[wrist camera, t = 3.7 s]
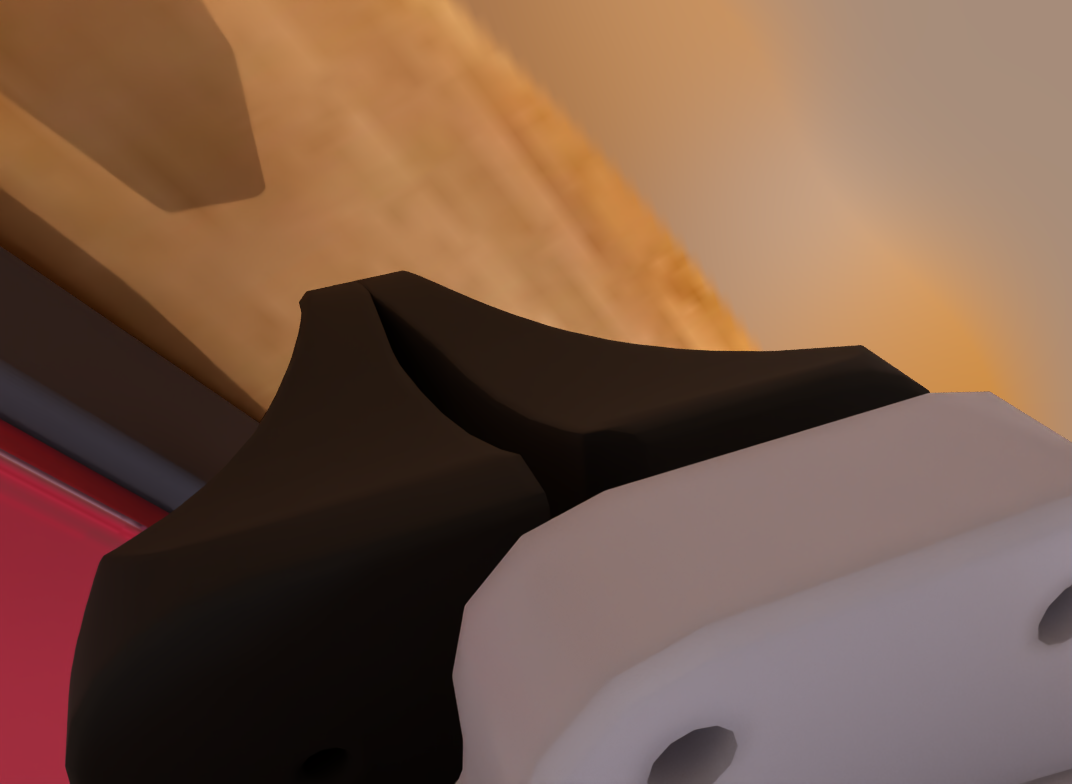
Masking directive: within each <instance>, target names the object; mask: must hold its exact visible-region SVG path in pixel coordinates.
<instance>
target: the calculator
mask: <svg viewBox="0 0 1072 784" xmlns="http://www.w3.org/2000/svg"><path fill="white" fill-rule="evenodd" d="M258 425H259V423H258V422H257V421H255V420H254V419H252V418H251V417H250V416H248V415H247V414H245V413H244V412H242V411H241V410H239V409H238V408H236V407H235V406H233V405H232V404H231V403H229V402H228V401H226V400H225V399H223V398H222V397H220V396H219V395H217V394H216V393H214V392H213V391H211V390H210V389H209V388H207V387H206V386H204V385H203V384H201V383H200V382H198V381H197V380H195V379H194V378H192V377H191V376H190V375H188V374H187V373H185V372H184V371H182V370H181V369H179V368H178V367H176V366H175V365H173V364H172V363H171V362H169V361H168V360H166V359H165V358H163V357H162V356H160V355H159V354H157V353H156V352H154V351H153V350H152V349H150V348H149V347H147V346H146V345H144V344H143V343H141V342H140V341H138V340H137V339H135V338H134V337H133V336H131V335H130V334H128V333H127V332H125V331H124V330H122V329H121V328H119V327H118V326H116V325H115V324H113V323H112V322H111V321H109V320H108V319H106V318H105V317H103V316H102V315H100V314H99V313H97V312H96V311H94V310H93V309H92V308H90V307H89V306H87V305H86V304H84V303H83V302H81V301H80V300H78V299H77V298H75V297H74V296H73V295H71V294H70V293H68V292H67V291H65V290H64V289H62V288H61V287H59V286H58V285H56V284H55V283H54V282H52V281H51V280H49V279H48V278H46V277H45V276H43V275H42V274H40V273H39V272H37V271H36V270H35V269H33V268H32V267H30V266H29V265H27V264H26V263H24V262H23V261H21V260H20V259H18V258H17V257H15V256H14V255H13V254H11V253H10V252H8V251H7V250H5V249H4V248H2V247H1V246H0V784H70V782H69V779H68V775H67V772H66V768H65V755H66V736H67V716H68V697H69V686H70V676H71V669H72V664H73V658H74V653H75V647H76V643H77V639H78V635H79V632H80V628H81V624H82V620H83V615H84V611H85V608H86V604H87V601H88V597H89V594H90V591H91V587H92V584H93V580H94V577H95V574H96V571H97V568H98V565H99V562H100V560H101V559H102V557H103V556H104V555H105V554H107V553H109V552H111V551H112V550H114V549H116V548H118V547H119V546H121V545H122V544H124V543H125V542H127V541H128V540H130V539H132V538H133V537H135V536H136V535H138V534H139V533H141V532H142V531H144V530H145V529H147V528H148V527H150V526H152V525H153V524H155V523H156V522H158V521H159V520H161V519H162V518H164V517H165V516H167V515H168V514H170V513H171V512H172V511H174V510H175V509H176V508H178V507H179V506H180V505H182V504H183V503H184V502H185V501H186V500H188V499H189V498H190V497H191V496H193V495H194V494H195V493H196V492H197V491H199V490H200V489H201V488H202V487H203V486H205V485H206V484H207V483H208V482H209V481H210V480H211V479H212V478H213V477H214V476H215V475H216V474H218V473H219V472H220V471H221V470H222V469H223V468H224V467H225V466H226V465H227V464H228V462H229V461H230V460H231V459H232V458H233V457H234V456H235V454H236V453H237V452H238V451H239V450H240V449H241V447H242V446H243V445H244V444H245V443H246V442H247V441H248V439H249V438H250V437H251V436H252V434H253V433H254V431H255V430H256V428H257V427H258Z"/></svg>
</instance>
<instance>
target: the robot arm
mask: <svg viewBox="0 0 1072 784" xmlns="http://www.w3.org/2000/svg"><path fill="white" fill-rule="evenodd" d="M299 304H300V308H301V322H300V328H299V333H298V337H297V340H296V344H295V347H294V351H293V354H292V358H291V361H290V363H289V366H288V368H287V371H286V373H285V375H284V378H283V380H282V382H281V384H280V387H279V389H278V391H277V394H276V396H275V398H274V400H273V401H272V403H271V405H270V407H269V409H268V411H267V412H266V414H265V416H264V417H263V419H262V420H261V422H260V423H259V425H258V427H257V428H256V430H255V431H254V433H253V434H252V436H251V437H250V438H249V439H248V441H247V442H246V443H245V444H244V445H243V446H242V447H241V449H240V450H239V451H238V452H237V453H236V454H235V456H234V457H233V458H232V459H231V460H230V461H229V462H228V464H227V465H226V466H225V467H224V468H223V469H222V470H221V471H220V472H219V473H218V474H216V475H215V476H214V477H213V478H212V479H211V480H210V481H209V482H208V483H207V484H206V485H205V486H203V487H202V488H201V489H200V490H199V491H197V492H196V493H195V494H194V495H193V496H191V497H190V498H189V499H188V500H186V501H185V502H184V503H183V504H182V505H180V506H179V507H178V508H176V509H175V510H174V511H172V512H171V513H170V514H168V515H167V516H165V517H164V518H162V519H161V520H159V521H158V522H156V523H155V524H153V525H152V526H150V527H148V528H147V529H145V530H144V531H142V532H141V533H139V534H138V535H136V536H135V537H133V538H132V539H130V540H128V541H127V542H125V543H124V544H122V545H121V546H119V547H118V548H116V549H114V550H112V551H111V552H109V553H107V554H105V555H104V556H103V557H102V559H101V560H100V562H99V565H98V568H97V571H96V574H95V577H94V580H93V584H92V587H91V591H90V594H89V597H88V601H87V604H86V608H85V611H84V615H83V620H82V624H81V628H80V632H79V635H78V639H77V643H76V647H75V653H74V658H73V664H72V669H71V676H70V686H69V697H68V716H67V736H66V755H65V768H66V772H67V775H68V779H69V782H70V784H1072V442H1070V441H1069V440H1067V439H1065V438H1064V437H1062V436H1060V435H1059V434H1057V433H1056V432H1054V431H1052V430H1051V429H1049V428H1048V427H1046V426H1044V425H1043V424H1041V423H1040V422H1038V421H1036V420H1035V419H1033V418H1031V417H1030V416H1028V415H1027V414H1025V413H1023V412H1022V411H1020V410H1018V409H1017V408H1015V407H1014V406H1012V405H1011V404H1009V403H1007V402H1006V401H1004V400H1003V399H1001V398H999V397H997V396H996V395H994V394H993V393H991V392H955V393H954V392H951V393H930V392H929V390H927V389H926V388H924V387H923V386H921V385H920V384H918V383H917V382H915V381H914V380H912V379H911V378H910V377H908V376H907V375H905V374H904V373H902V372H901V371H899V370H898V369H896V368H895V367H893V366H892V365H890V364H889V363H887V362H886V361H884V360H883V359H882V358H880V357H879V356H877V355H876V354H874V353H873V352H871V351H870V350H868V349H867V348H865V347H864V346H861V345H858V346H844V347H829V348H813V349H799V350H784V351H706V350H688V349H675V348H666V347H657V346H648V345H639V344H631V343H625V342H618V341H612V340H607V339H602V338H597V337H593V336H588V335H583V334H579V333H574V332H570V331H566V330H562V329H558V328H554V327H551V326H547V325H544V324H541V323H538V322H535V321H532V320H529V319H525V318H522V317H519V316H516V315H513V314H510V313H508V312H505V311H502V310H500V309H497V308H494V307H492V306H489V305H487V304H484V303H482V302H479V301H477V300H474V299H472V298H469V297H467V296H465V295H462V294H460V293H458V292H455V291H453V290H451V289H448V288H446V287H444V286H442V285H439V284H437V283H435V282H432V281H430V280H428V279H425V278H423V277H421V276H418V275H416V274H413V273H410V272H407V271H399V272H394V273H389V274H385V275H380V276H376V277H371V278H366V279H362V280H357V281H353V282H348V283H343V284H339V285H334V286H329V287H325V288H320V289H316V290H311V291H306V293H305V294H304V296H303V297H302V299H301V300H300V301H299Z"/></svg>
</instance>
